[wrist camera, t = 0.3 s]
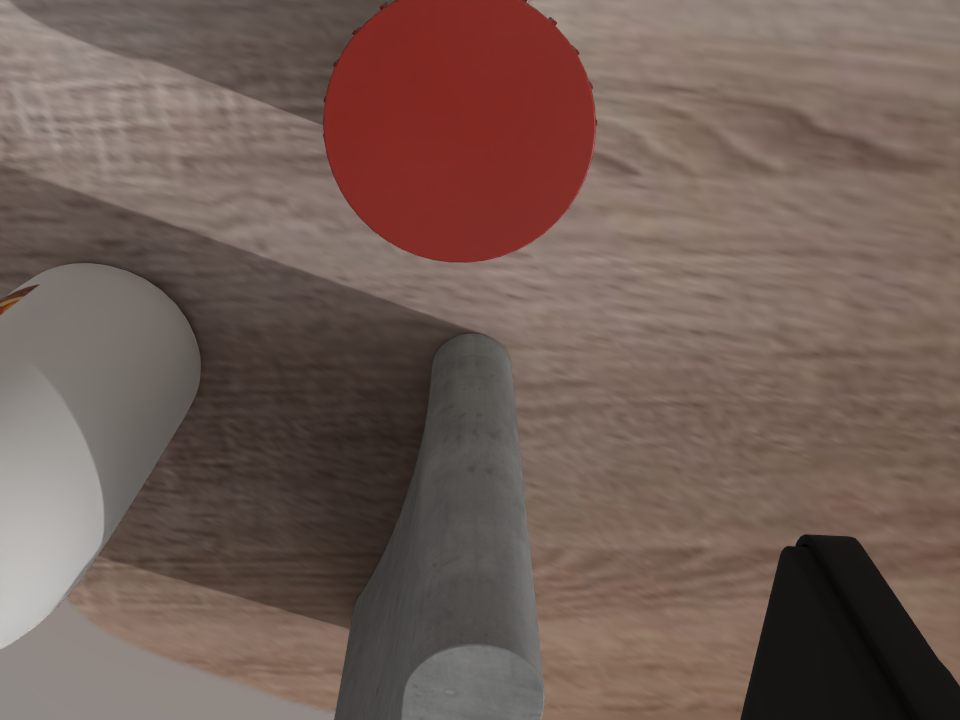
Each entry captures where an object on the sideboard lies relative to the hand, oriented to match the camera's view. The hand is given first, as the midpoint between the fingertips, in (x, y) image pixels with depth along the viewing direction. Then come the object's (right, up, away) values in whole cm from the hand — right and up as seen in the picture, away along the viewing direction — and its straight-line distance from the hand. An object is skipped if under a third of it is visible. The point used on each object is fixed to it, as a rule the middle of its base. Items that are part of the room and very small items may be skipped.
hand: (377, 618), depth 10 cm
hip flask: (-1, -3, +28) cm, 28 cm away
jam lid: (+1, +9, +12) cm, 15 cm away
